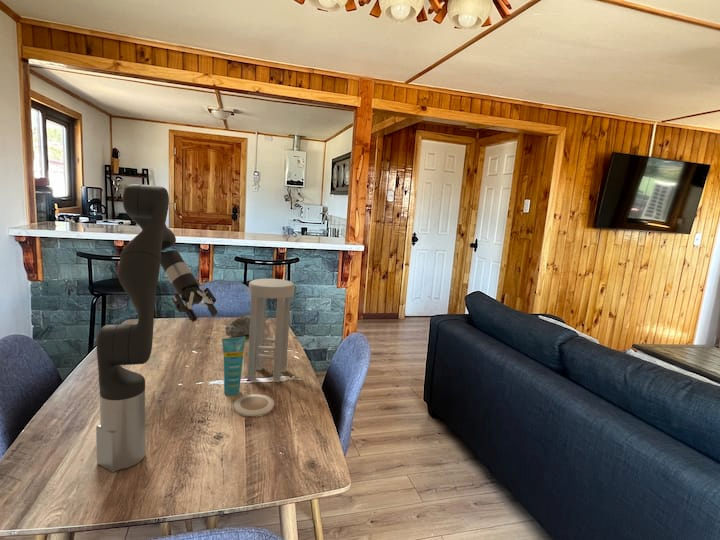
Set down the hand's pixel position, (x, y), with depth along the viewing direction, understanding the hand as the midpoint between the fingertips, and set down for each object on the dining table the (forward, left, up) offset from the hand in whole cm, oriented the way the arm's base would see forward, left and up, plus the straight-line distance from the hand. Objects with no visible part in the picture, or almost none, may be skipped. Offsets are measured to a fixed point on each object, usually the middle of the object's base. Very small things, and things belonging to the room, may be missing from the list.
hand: (205, 317), depth 137 cm
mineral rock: (+46, +27, -24) cm, 58 cm away
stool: (+19, -12, -24) cm, 33 cm away
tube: (+1, -12, -24) cm, 27 cm away
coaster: (-2, -24, -23) cm, 34 cm away
